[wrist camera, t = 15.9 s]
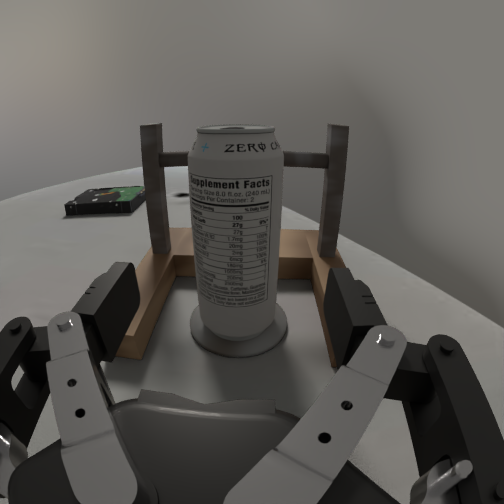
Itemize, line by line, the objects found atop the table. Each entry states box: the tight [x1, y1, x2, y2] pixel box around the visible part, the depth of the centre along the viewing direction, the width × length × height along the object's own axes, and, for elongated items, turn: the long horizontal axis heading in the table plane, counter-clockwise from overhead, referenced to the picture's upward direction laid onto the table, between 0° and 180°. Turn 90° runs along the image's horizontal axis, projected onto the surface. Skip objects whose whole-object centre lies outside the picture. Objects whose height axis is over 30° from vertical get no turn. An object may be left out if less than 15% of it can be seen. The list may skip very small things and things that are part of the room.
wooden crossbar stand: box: [115, 123, 349, 367], centre depth 25 cm, size 20×19×16 cm
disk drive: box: [65, 186, 146, 215], centre depth 53 cm, size 10×3×15 cm
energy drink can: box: [188, 124, 284, 341], centre depth 21 cm, size 6×6×15 cm
